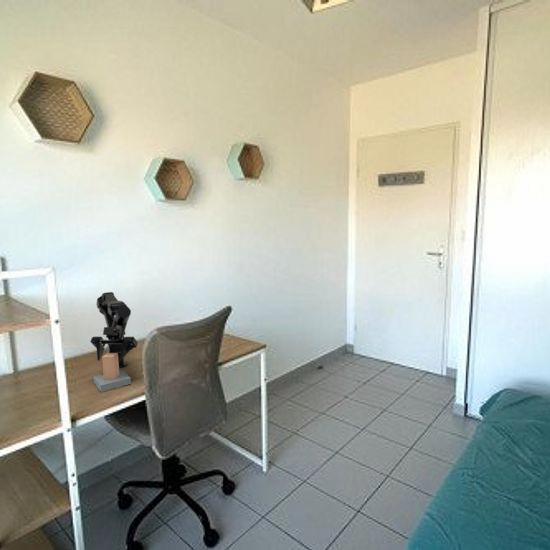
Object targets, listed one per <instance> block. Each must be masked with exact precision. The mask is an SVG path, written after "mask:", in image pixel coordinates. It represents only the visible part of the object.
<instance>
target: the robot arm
mask: <svg viewBox="0 0 550 550" xmlns="http://www.w3.org/2000/svg"><path fill="white" fill-rule="evenodd" d="M96 307H97V309H98V312H99V313H100V314H102V315H103V316H104V319H105V323H106V327H105V326H104V327H103V333H102V335H103V336H105V338H106V339H104V338H103V336H93V337H91V339H90V340H89V342H90V343H91V344H92V346H93V347H94V348H96V355H97V357H96V358H97V361H101V360H102V357H103V354H104V351H105V350H106V354H107V353H118V362H119V369H120V368H124V367H127V366H128V364H127V363H126V361H125V357H126V355H127V354H128V353H130V352H131V351H132V350H134V349H136V348H137V347H138V344H139V343H138V341H137V339H136V338H135V336H125V335H127V334H126V328H127V325H128V321H129V319H130V316H131V313H132V310H131V309H130V307H128V306H127V304H126V303H125V302H124V301H122V300H118V299H117V297H116V295H115V294H114V292H112V291H108V292H103V293H102V294H101V295H100V296H98V298H97V299H96ZM106 345H107V346H106ZM105 346H106V347H107V348H106V349H105Z"/></svg>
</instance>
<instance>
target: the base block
mask: <svg viewBox="0 0 550 550" xmlns="http://www.w3.org/2000/svg"><path fill="white" fill-rule="evenodd" d="M131 378H132V377H130V376H129V375H128V374H127V373H126V372H125V371H124V370H123V369H119V376H118V377H117V378H116V379H104V373H102V374H98V375H93V384H94V385H95V386H96V388H97V389H98V390H99V392H100V391H101V392H100V393H105V392H108V391H107V390H109V391H111V390H110V389H113V388H116V389H119V388H118V387H120V388H122V387H121V386H124V385H127V384H131V385H132V380H131ZM124 387H125V386H124ZM113 390H114V389H113ZM104 391H105V392H104Z"/></svg>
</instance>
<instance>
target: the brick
mask: <svg viewBox="0 0 550 550" xmlns="http://www.w3.org/2000/svg"><path fill="white" fill-rule="evenodd" d="M101 360H102V371H103V373H102V374H104V379H116V378H117V377H118V376H119V370H120V368H119V362H118V353H107V352H106V354H104V355H102V356H101Z"/></svg>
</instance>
